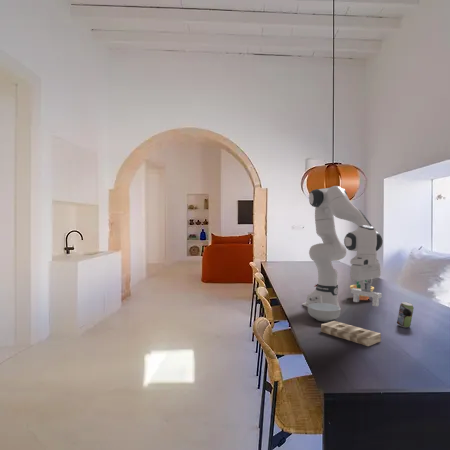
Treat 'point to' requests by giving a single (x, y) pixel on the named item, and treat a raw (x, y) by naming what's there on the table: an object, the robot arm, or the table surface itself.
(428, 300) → the table surface
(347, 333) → the beige flat rectangular block
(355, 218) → the robot arm
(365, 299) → the potted cactus
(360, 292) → the gray u-shaped bracket
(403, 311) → the beverage can
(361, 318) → the table surface
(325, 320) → the cereal bowl
